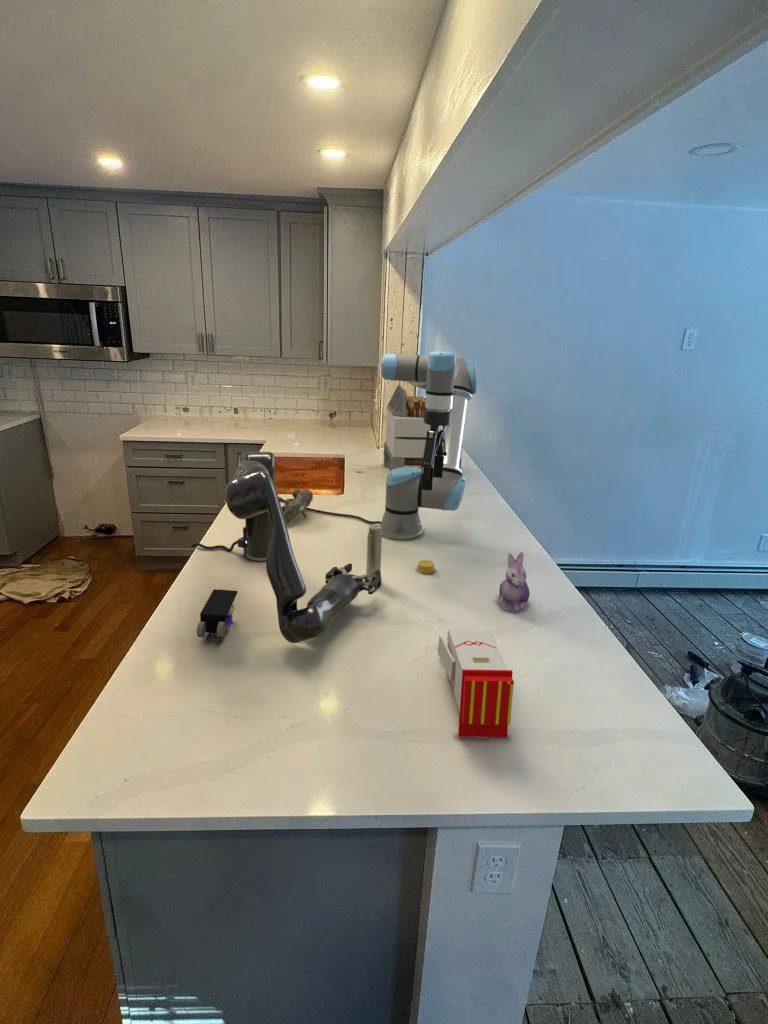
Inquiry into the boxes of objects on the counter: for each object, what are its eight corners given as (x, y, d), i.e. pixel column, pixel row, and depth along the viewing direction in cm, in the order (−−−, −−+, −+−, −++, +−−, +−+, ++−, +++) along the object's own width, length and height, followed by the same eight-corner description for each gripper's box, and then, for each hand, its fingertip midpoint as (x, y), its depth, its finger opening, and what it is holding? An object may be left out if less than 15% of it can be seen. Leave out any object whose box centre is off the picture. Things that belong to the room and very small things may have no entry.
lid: (427, 575, 170) (428, 568, 169) (414, 570, 173) (415, 563, 172) (437, 570, 173) (437, 563, 172) (424, 565, 176) (425, 558, 175)
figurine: (511, 616, 149) (518, 564, 143) (487, 598, 157) (493, 549, 152) (539, 609, 153) (547, 558, 148) (514, 592, 161) (521, 544, 156)
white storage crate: (382, 463, 289) (386, 382, 275) (445, 464, 293) (451, 384, 279) (390, 482, 257) (394, 392, 243) (460, 483, 261) (468, 394, 247)
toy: (488, 613, 130) (523, 677, 101) (484, 667, 133) (517, 744, 104) (435, 612, 130) (455, 676, 101) (432, 666, 133) (451, 743, 103)
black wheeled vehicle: (226, 651, 131) (240, 612, 144) (223, 625, 127) (238, 587, 141) (197, 650, 130) (213, 611, 144) (193, 624, 127) (210, 586, 140)
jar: (376, 578, 167) (378, 523, 161) (382, 584, 163) (384, 528, 157) (363, 580, 165) (365, 525, 159) (369, 586, 162) (371, 530, 156)
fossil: (282, 495, 221) (310, 474, 216) (298, 513, 224) (326, 493, 219) (266, 520, 201) (297, 498, 196) (284, 540, 204) (315, 519, 199)
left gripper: (363, 587, 138) (389, 562, 152) (312, 574, 143) (341, 552, 157) (362, 614, 141) (387, 587, 155) (312, 601, 146) (341, 576, 160)
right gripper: (434, 402, 169) (429, 470, 176) (413, 415, 146) (408, 493, 154) (459, 404, 167) (453, 473, 174) (441, 418, 144) (435, 497, 151)
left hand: (364, 569), depth 156 cm, fingers open, 8 cm apart
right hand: (432, 483), depth 164 cm, fingers open, 13 cm apart
